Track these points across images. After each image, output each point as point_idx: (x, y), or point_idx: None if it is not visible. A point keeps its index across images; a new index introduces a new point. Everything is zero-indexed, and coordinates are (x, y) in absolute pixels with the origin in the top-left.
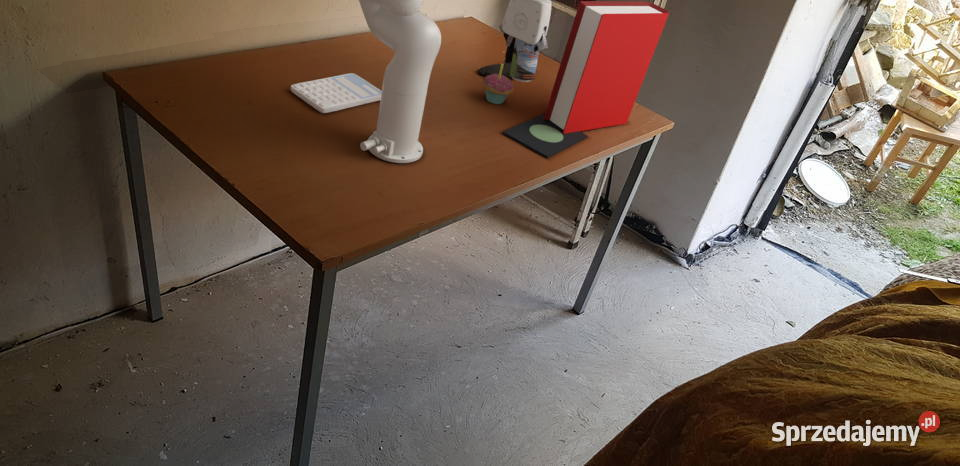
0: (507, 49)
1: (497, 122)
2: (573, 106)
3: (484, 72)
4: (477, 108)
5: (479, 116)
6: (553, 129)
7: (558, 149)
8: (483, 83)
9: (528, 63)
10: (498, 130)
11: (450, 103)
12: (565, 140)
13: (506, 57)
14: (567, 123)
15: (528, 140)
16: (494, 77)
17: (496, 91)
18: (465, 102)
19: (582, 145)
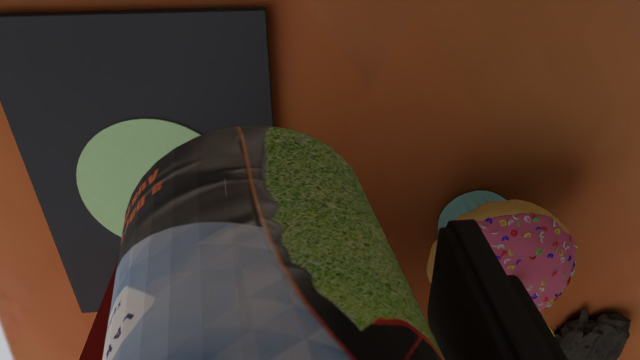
0: (550, 351)
1: (351, 79)
2: (83, 355)
3: (603, 326)
4: (486, 98)
5: (438, 44)
6: None
7: (16, 124)
8: (557, 220)
9: (124, 319)
10: (297, 17)
11: (604, 13)
12: (78, 214)
13: (484, 258)
14: (111, 282)
15: (139, 60)
16: (534, 270)
17: (473, 216)
18: (553, 92)
19: (38, 251)
